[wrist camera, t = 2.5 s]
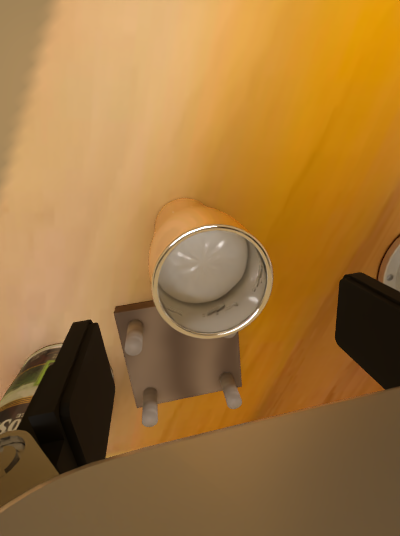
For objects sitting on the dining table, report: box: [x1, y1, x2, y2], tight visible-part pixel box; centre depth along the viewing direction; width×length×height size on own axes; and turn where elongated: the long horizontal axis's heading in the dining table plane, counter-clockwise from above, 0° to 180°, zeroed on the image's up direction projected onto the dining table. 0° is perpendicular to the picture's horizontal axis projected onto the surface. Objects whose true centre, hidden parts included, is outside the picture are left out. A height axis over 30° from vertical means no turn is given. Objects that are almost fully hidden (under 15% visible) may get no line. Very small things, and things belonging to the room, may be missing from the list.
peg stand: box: [114, 301, 242, 427], centre depth 31 cm, size 13×13×6 cm
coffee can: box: [0, 344, 114, 434], centre depth 26 cm, size 10×10×14 cm
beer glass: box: [148, 198, 273, 339], centre depth 22 cm, size 7×7×15 cm
